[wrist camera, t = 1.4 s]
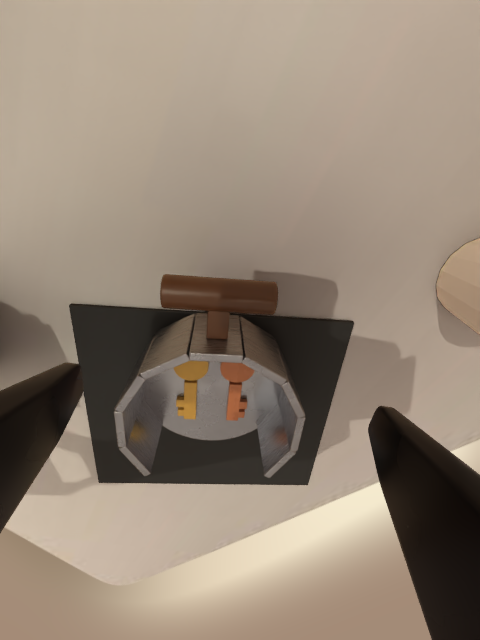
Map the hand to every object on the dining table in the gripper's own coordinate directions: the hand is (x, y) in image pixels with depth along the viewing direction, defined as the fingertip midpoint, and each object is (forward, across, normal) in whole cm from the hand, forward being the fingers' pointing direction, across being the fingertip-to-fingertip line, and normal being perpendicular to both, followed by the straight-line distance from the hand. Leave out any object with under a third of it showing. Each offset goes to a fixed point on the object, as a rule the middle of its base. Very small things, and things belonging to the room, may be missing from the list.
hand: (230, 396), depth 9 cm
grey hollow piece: (+11, +1, +6) cm, 13 cm away
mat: (+12, +1, +12) cm, 17 cm away
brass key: (+10, +2, +8) cm, 13 cm away
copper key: (+10, -1, +8) cm, 13 cm away
